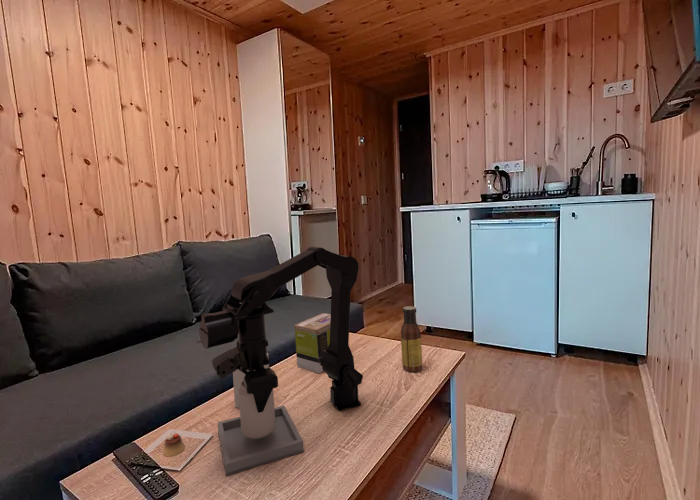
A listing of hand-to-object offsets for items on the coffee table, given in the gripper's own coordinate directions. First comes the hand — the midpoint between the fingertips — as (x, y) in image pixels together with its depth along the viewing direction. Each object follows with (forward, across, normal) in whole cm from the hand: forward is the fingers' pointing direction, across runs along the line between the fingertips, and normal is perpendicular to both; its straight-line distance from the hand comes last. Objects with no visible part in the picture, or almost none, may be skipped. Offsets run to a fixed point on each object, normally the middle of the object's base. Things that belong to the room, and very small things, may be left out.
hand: (257, 403), depth 83 cm
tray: (+9, 0, 0) cm, 9 cm away
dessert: (+10, -6, -18) cm, 21 cm away
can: (+7, 0, 0) cm, 7 cm away
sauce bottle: (+10, -15, +51) cm, 54 cm away
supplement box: (+10, -18, +2) cm, 20 cm away
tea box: (+10, -33, +27) cm, 44 cm away
